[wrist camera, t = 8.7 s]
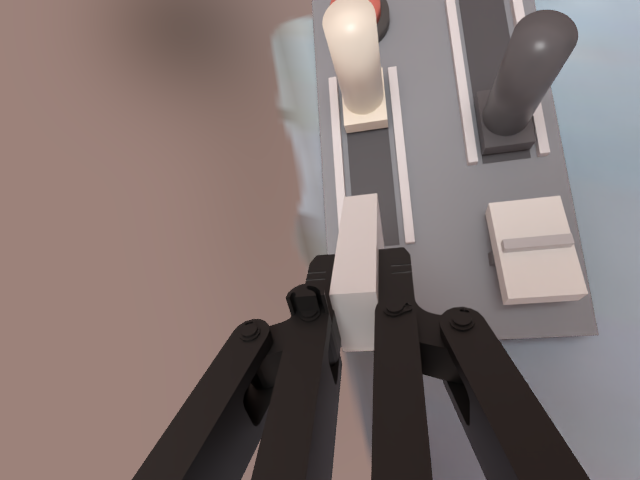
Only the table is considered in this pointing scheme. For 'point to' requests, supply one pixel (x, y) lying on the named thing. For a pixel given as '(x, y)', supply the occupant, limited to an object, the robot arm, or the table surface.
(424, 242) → the panel
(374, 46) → the cream tapered knob
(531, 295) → the rocker
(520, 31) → the black lever
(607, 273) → the table surface
